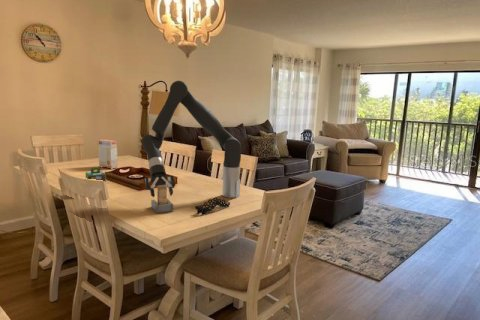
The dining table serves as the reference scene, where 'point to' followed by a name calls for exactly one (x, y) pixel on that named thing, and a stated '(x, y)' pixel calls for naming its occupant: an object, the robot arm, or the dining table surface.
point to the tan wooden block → (162, 194)
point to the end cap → (162, 207)
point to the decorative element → (215, 203)
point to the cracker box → (108, 153)
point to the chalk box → (96, 174)
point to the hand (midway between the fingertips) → (162, 195)
